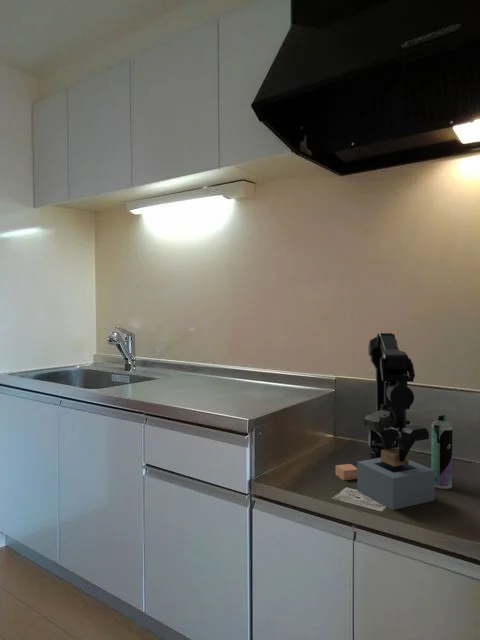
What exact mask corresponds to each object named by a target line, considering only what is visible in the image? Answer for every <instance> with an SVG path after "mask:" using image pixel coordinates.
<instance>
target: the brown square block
mask: <svg viewBox="0 0 480 640" xmlns="http://www.w3.org/2000/svg"><path fill="white" fill-rule="evenodd" d="M409 457H410V453H409V452H408V454H407V456H406V458H405V460H404V461H402V462H401V461H400V457H399V447H398V448H390V449H384V450H381V461H382V462H385V463H387V464H389V465H392V466H394V467H395V466H400V465H405V464H409V460H410V458H409Z"/></svg>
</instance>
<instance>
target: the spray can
mask: <svg viewBox="0 0 480 640" xmlns="http://www.w3.org/2000/svg"><path fill="white" fill-rule="evenodd" d="M430 445H431V450H430V451H431V452H430V453H431V455H430V456H431V461H430V462H431V467H430V469H433V470H435V488H438V489H442V490H448V489H452V488H453V424H452V423H451V422H449V421H448V419H446V414H445V415H444V414H441V415H438V418H436V420H435V421H432V423H431V444H430Z"/></svg>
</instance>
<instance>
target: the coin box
mask: <svg viewBox="0 0 480 640" xmlns="http://www.w3.org/2000/svg"><path fill="white" fill-rule="evenodd" d="M356 463H357V464H356V466H357V467H356V468H357V479H356V481H357V484H356V490H357V491H358V492H359V493H362V494H364V495H365V496H367V497H369V498H370V499H372V500H373V501H376V502H377V503H379V504H381V505H383V506H385V507H386V508H388V509H390V510H391V511H395V510H398V509H403V508H408V507H412V506H416V505H420V504H426V503H429V502H430V503H431V502H434V501H435V498H436V497H435V489H436V487H435V470H433V469H431V467H428V466H426V465H424V464H423V465H422V464H420V463H418V462H415V461H413V460H410V459H409V464H405V465H400V466H395V467H394V466H392V465H389V464H387V463H385V462H382V461H381V458H376V459H371V458H370V459H365V460H364V459H363V460H360V461H357V462H356Z"/></svg>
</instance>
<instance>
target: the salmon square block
mask: <svg viewBox="0 0 480 640" xmlns="http://www.w3.org/2000/svg"><path fill="white" fill-rule="evenodd" d="M335 475H336V476H337V477H338V478H339V479H341V480H342V481H349V480H350V481H351V480H357V467H356V466H355V465H353V464H351V463H346V464H336V465H335Z"/></svg>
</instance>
